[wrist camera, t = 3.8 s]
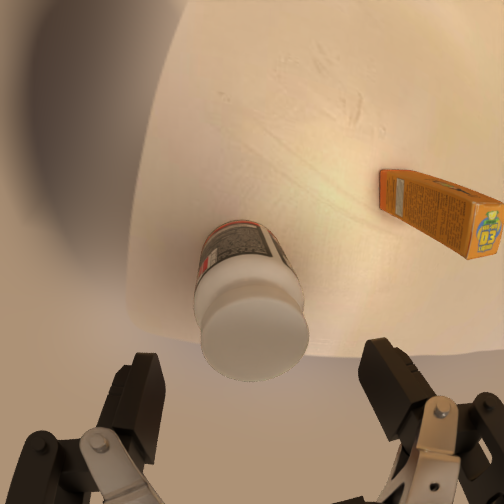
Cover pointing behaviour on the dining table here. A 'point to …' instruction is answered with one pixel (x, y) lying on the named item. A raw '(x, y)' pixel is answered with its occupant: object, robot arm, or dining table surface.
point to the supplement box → (444, 211)
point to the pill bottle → (249, 304)
